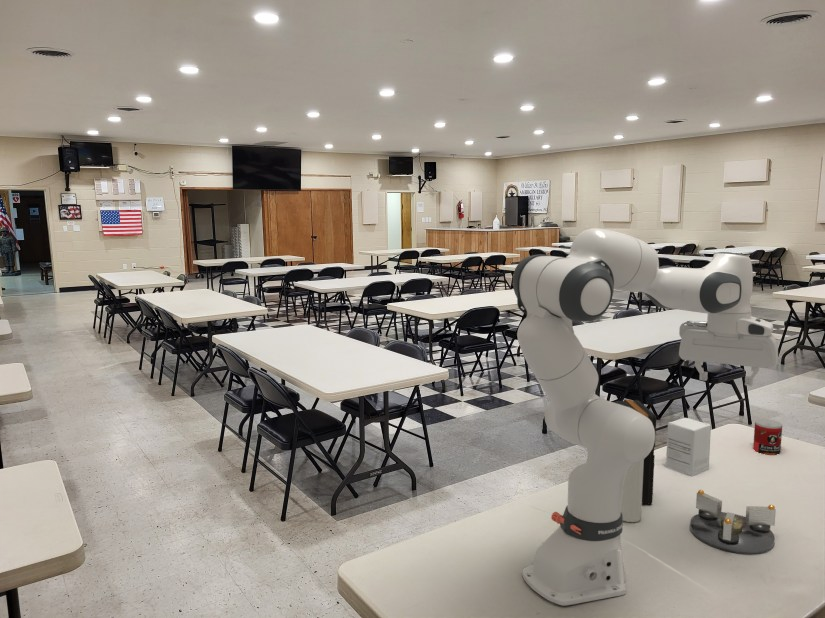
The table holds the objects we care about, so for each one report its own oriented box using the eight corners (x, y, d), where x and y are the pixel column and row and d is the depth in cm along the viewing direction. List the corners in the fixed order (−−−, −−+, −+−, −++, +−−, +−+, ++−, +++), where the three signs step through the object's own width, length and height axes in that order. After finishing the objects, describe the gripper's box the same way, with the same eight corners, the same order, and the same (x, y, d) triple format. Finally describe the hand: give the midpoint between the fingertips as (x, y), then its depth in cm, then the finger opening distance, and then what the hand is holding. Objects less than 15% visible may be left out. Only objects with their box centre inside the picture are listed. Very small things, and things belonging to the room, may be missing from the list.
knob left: (724, 519, 153) (726, 496, 153) (712, 523, 152) (713, 500, 151) (703, 509, 159) (704, 487, 158) (691, 513, 157) (692, 490, 156)
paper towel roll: (627, 525, 155) (631, 442, 152) (610, 514, 160) (613, 435, 157) (649, 519, 158) (653, 438, 155) (632, 509, 163) (636, 431, 160)
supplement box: (682, 463, 194) (684, 416, 192) (709, 472, 187) (712, 424, 185) (664, 469, 189) (666, 422, 187) (691, 479, 182) (694, 430, 180)
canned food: (758, 459, 197) (760, 426, 195) (748, 450, 205) (751, 418, 203) (784, 460, 195) (786, 427, 194) (774, 451, 203) (776, 419, 202)
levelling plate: (740, 561, 138) (741, 544, 137) (673, 526, 154) (674, 510, 153) (791, 543, 146) (792, 526, 145) (723, 511, 162) (724, 496, 161)
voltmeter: (656, 506, 165) (661, 415, 161) (623, 506, 165) (627, 415, 162) (637, 482, 180) (641, 398, 177) (607, 481, 181) (610, 398, 177)
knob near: (719, 531, 148) (721, 507, 147) (740, 536, 145) (741, 512, 144) (715, 542, 143) (717, 517, 142) (737, 547, 140) (738, 522, 139)
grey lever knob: (750, 532, 147) (752, 508, 146) (742, 523, 151) (743, 500, 150) (777, 533, 147) (779, 509, 146) (768, 524, 151) (770, 501, 150)
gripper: (676, 322, 145) (674, 379, 147) (778, 329, 133) (774, 391, 135) (682, 318, 150) (680, 374, 152) (780, 324, 138) (777, 384, 140)
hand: (725, 382), depth 143 cm, fingers open, 8 cm apart
